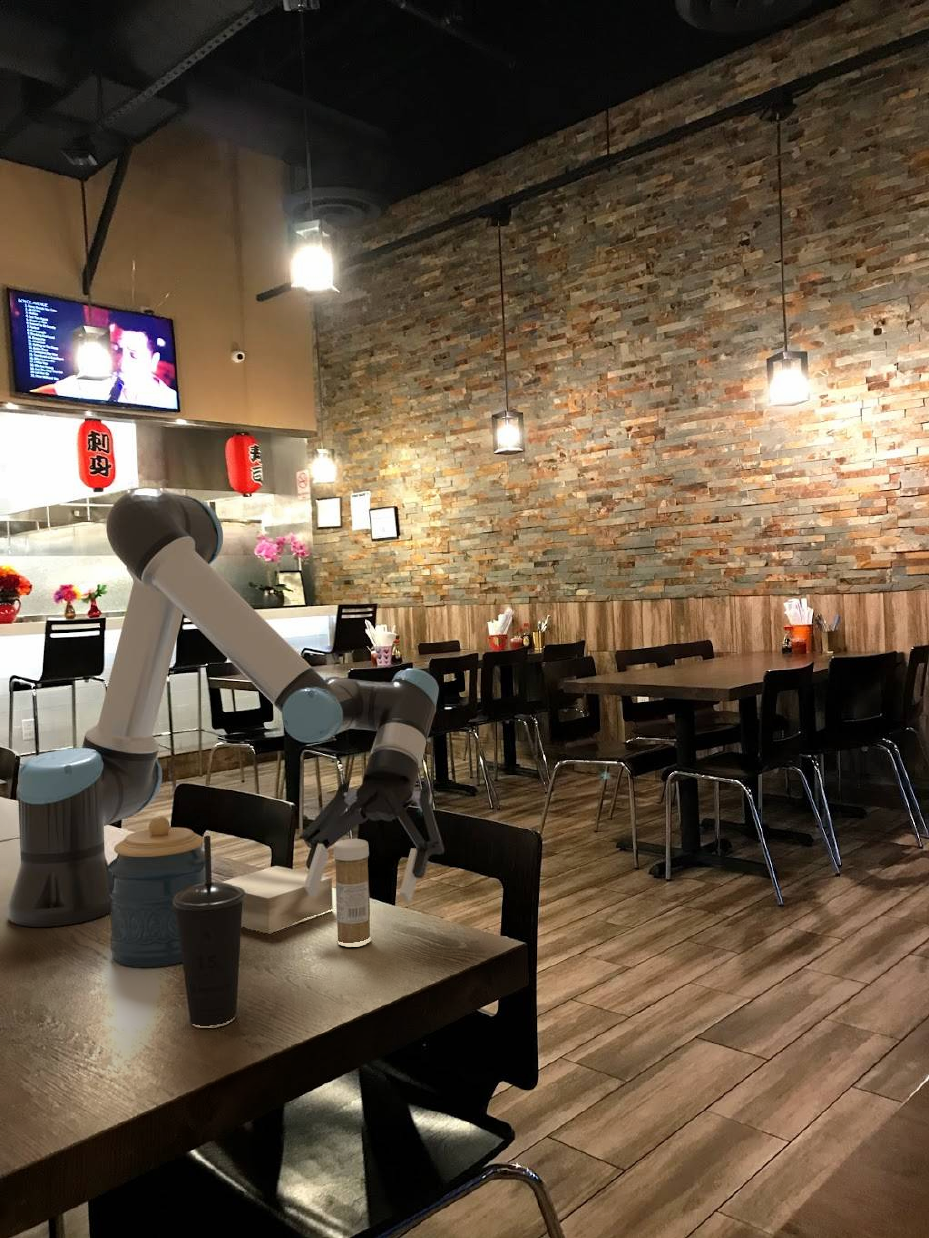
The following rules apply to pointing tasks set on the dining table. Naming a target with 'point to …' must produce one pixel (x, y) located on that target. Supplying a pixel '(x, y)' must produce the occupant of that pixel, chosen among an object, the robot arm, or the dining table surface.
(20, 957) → the dining table surface
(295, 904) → the maple block
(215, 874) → the dining table surface
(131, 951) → the canister
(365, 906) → the sprinkles bottle
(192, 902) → the drinking cup
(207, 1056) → the dining table surface
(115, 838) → the dining table surface
